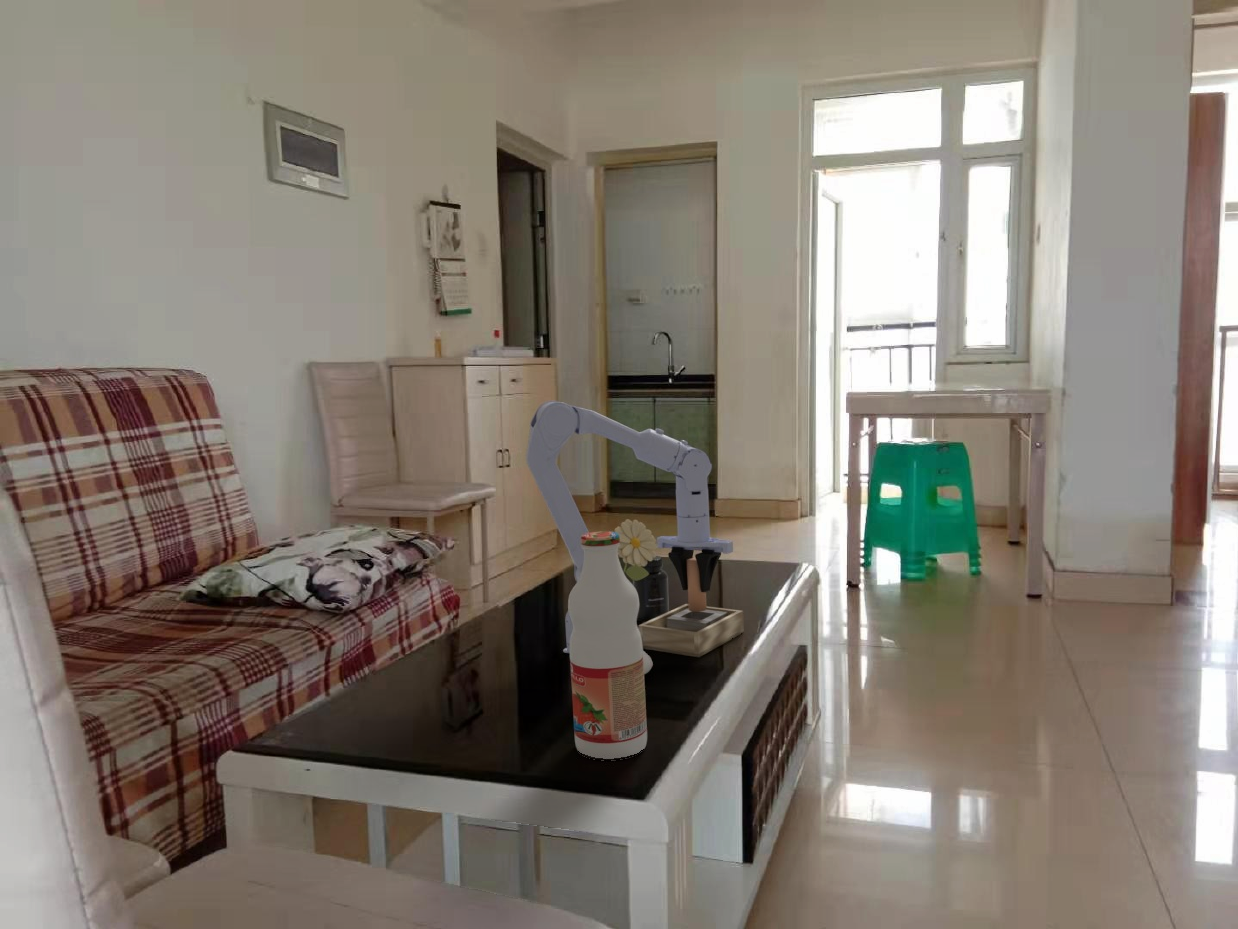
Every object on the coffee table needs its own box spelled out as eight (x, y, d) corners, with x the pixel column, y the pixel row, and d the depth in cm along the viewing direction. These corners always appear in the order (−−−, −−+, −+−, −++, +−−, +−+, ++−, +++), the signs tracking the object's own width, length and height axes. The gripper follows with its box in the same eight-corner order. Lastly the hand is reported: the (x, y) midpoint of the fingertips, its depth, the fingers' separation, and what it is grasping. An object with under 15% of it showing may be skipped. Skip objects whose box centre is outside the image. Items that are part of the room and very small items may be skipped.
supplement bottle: (656, 625, 176) (653, 562, 175) (627, 620, 180) (624, 559, 179) (676, 616, 182) (673, 555, 180) (648, 612, 186) (645, 553, 184)
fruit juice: (651, 759, 116) (640, 538, 113) (575, 765, 116) (562, 543, 113) (644, 730, 125) (634, 525, 123) (574, 735, 125) (562, 530, 122)
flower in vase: (591, 692, 141) (582, 530, 139) (575, 669, 152) (566, 519, 150) (672, 680, 145) (665, 522, 142) (651, 659, 156) (643, 511, 153)
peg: (701, 612, 164) (699, 562, 163) (685, 610, 166) (683, 561, 165) (709, 608, 167) (707, 558, 166) (694, 606, 169) (692, 557, 168)
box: (699, 657, 155) (698, 634, 155) (639, 647, 162) (638, 625, 162) (743, 632, 168) (742, 610, 168) (686, 624, 175) (685, 603, 175)
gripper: (740, 513, 164) (743, 588, 165) (670, 509, 172) (673, 581, 173) (720, 519, 158) (723, 598, 159) (649, 515, 166) (653, 590, 168)
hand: (696, 590), depth 166 cm, fingers closed on peg, 3 cm apart
